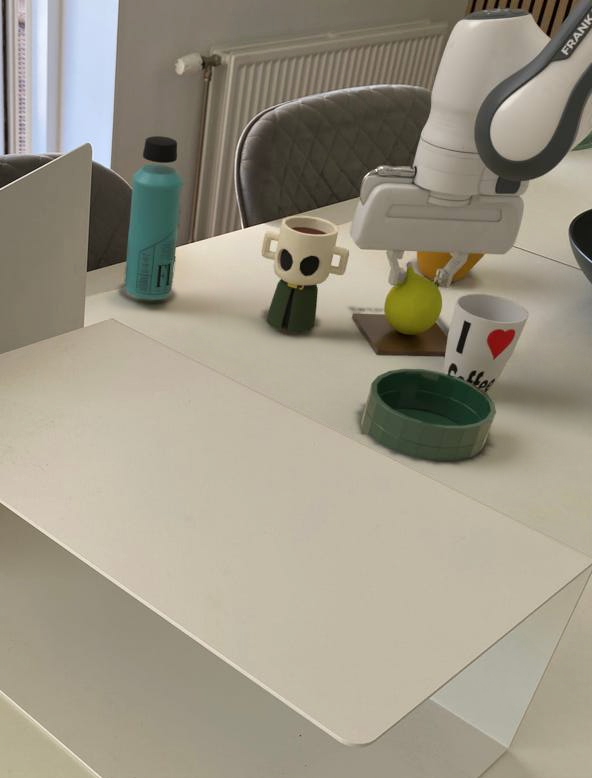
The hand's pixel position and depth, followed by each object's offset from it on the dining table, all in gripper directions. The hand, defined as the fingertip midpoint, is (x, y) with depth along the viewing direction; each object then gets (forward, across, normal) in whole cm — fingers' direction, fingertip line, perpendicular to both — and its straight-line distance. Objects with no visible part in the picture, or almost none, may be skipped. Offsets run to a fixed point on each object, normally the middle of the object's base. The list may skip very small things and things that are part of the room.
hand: (418, 284), depth 125 cm
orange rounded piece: (+7, +13, +21) cm, 26 cm away
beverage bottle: (+7, -33, +9) cm, 35 cm away
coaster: (+7, 0, 0) cm, 7 cm away
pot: (+7, -7, -26) cm, 28 cm away
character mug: (+7, -15, +2) cm, 17 cm away
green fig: (+6, 0, 0) cm, 7 cm away
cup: (+7, +3, -14) cm, 16 cm away
